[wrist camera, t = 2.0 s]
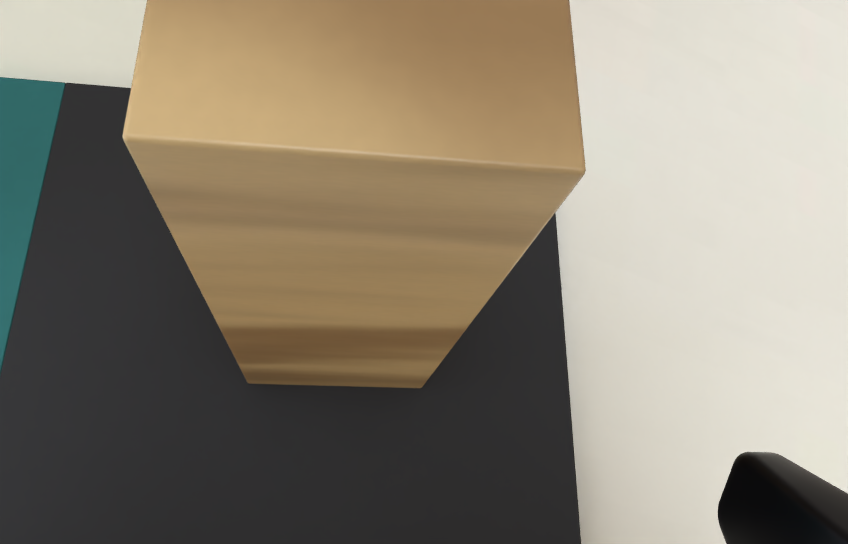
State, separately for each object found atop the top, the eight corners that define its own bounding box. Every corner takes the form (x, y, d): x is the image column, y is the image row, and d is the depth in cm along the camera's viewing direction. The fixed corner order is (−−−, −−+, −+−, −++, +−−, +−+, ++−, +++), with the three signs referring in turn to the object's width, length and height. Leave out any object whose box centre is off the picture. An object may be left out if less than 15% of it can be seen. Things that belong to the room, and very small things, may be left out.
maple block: (422, 388, 20) (589, 172, 7) (246, 383, 19) (118, 138, 7) (422, 232, 21) (556, -147, 9) (261, 223, 21) (181, -200, 9)
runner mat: (577, 553, 19) (582, 554, 19) (-717, 563, 15) (-744, 565, 14) (545, 129, 24) (548, 122, 23) (-433, 48, 20) (-448, 38, 19)
